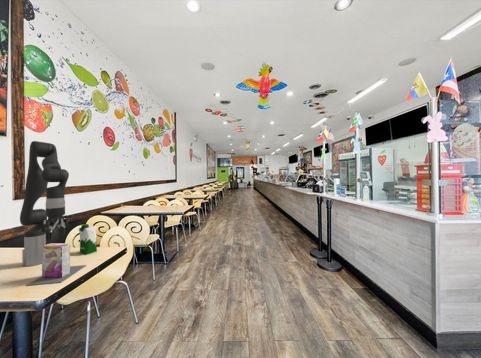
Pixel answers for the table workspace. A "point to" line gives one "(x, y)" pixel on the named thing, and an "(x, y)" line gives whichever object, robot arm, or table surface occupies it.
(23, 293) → the table surface
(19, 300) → the table surface
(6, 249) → the table surface
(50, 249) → the candy bar box
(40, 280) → the mat
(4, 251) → the table surface
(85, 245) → the milk carton
